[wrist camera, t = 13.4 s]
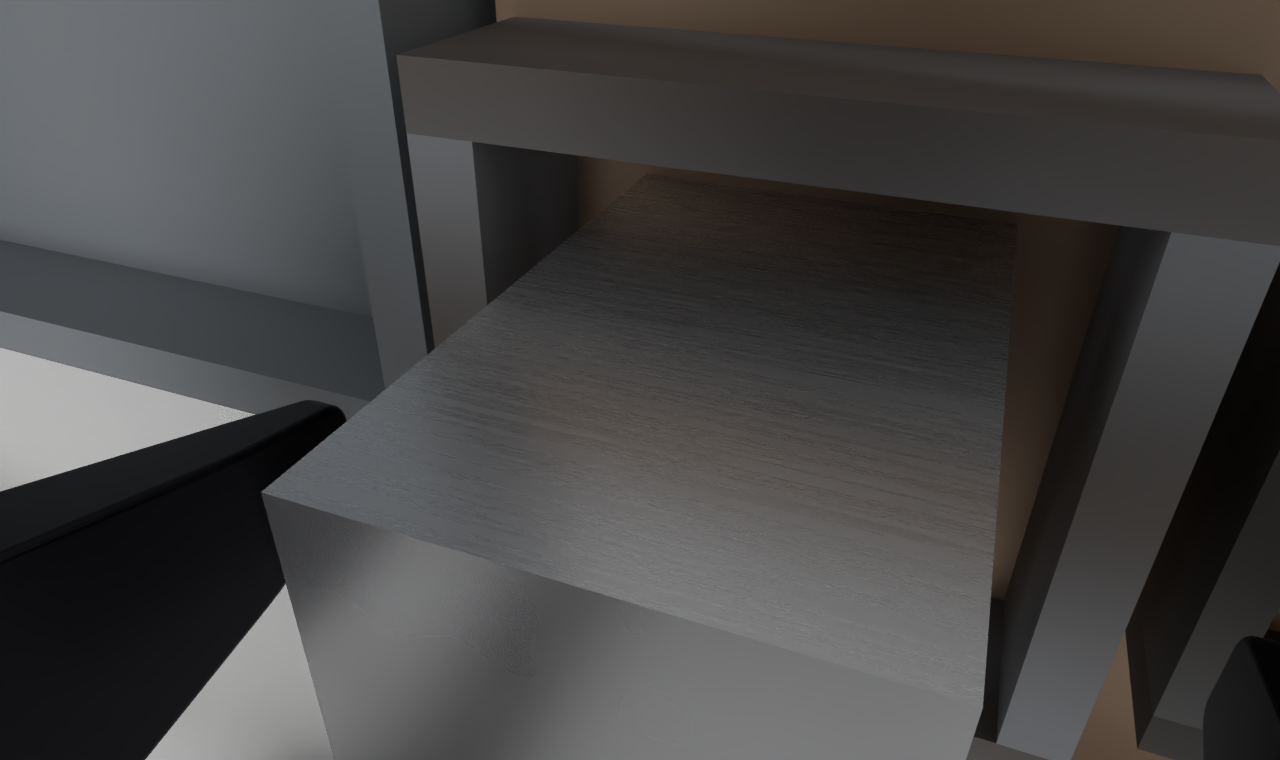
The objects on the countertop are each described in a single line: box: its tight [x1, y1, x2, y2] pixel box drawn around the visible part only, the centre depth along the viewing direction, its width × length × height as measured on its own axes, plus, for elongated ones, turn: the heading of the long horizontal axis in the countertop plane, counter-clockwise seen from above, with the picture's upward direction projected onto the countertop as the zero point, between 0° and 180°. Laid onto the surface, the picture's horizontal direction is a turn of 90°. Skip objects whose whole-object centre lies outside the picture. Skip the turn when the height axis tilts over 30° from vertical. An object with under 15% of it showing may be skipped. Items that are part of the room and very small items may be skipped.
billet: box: [261, 174, 1017, 760], centre depth 9 cm, size 4×4×7 cm
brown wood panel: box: [396, 0, 1280, 760], centre depth 10 cm, size 15×16×4 cm
